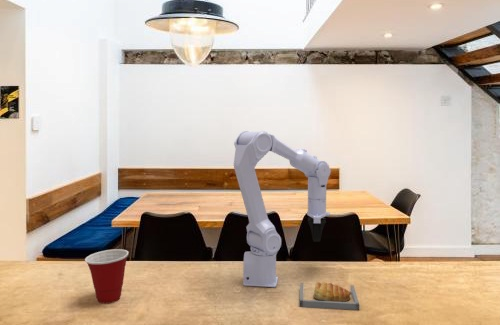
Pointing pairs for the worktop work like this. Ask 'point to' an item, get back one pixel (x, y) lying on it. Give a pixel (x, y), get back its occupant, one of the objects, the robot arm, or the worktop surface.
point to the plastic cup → (107, 273)
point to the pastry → (330, 292)
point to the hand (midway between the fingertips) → (316, 241)
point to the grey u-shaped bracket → (330, 302)
